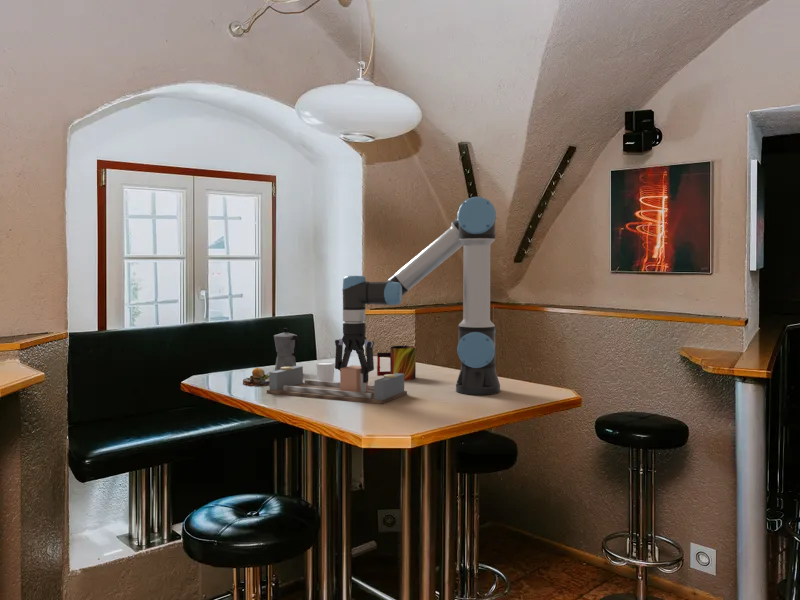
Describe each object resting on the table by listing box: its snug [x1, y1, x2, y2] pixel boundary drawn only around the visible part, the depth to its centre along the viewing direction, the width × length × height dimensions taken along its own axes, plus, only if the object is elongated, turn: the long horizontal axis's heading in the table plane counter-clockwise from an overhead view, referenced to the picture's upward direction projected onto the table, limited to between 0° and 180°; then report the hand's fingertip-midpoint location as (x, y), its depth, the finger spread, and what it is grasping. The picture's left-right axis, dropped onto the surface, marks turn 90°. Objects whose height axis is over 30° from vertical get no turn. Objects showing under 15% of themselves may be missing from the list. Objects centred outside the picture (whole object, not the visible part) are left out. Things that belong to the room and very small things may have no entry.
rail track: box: [266, 379, 408, 405], centre depth 232 cm, size 44×18×2 cm, turn 65°
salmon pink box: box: [339, 365, 369, 392], centre depth 229 cm, size 6×8×8 cm
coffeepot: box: [273, 327, 300, 371], centre depth 276 cm, size 15×9×18 cm, turn 43°
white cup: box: [315, 361, 335, 382], centre depth 255 cm, size 7×7×7 cm
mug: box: [376, 345, 417, 381], centre depth 262 cm, size 10×14×12 cm
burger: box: [242, 367, 270, 387], centre depth 253 cm, size 12×12×8 cm
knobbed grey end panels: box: [268, 365, 405, 400], centre depth 232 cm, size 44×16×7 cm, turn 65°
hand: (354, 391), depth 229 cm, fingers closed on salmon pink box, 6 cm apart
